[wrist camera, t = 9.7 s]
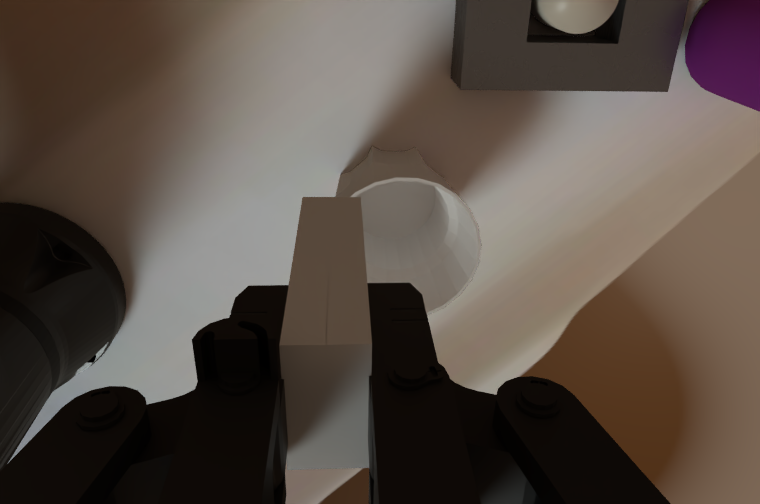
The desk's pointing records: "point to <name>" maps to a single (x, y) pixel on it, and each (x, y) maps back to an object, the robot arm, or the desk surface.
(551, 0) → the knob
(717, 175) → the desk surface
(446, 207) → the cup
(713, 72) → the beverage can
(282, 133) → the desk surface
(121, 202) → the desk surface
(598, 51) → the mount plate
